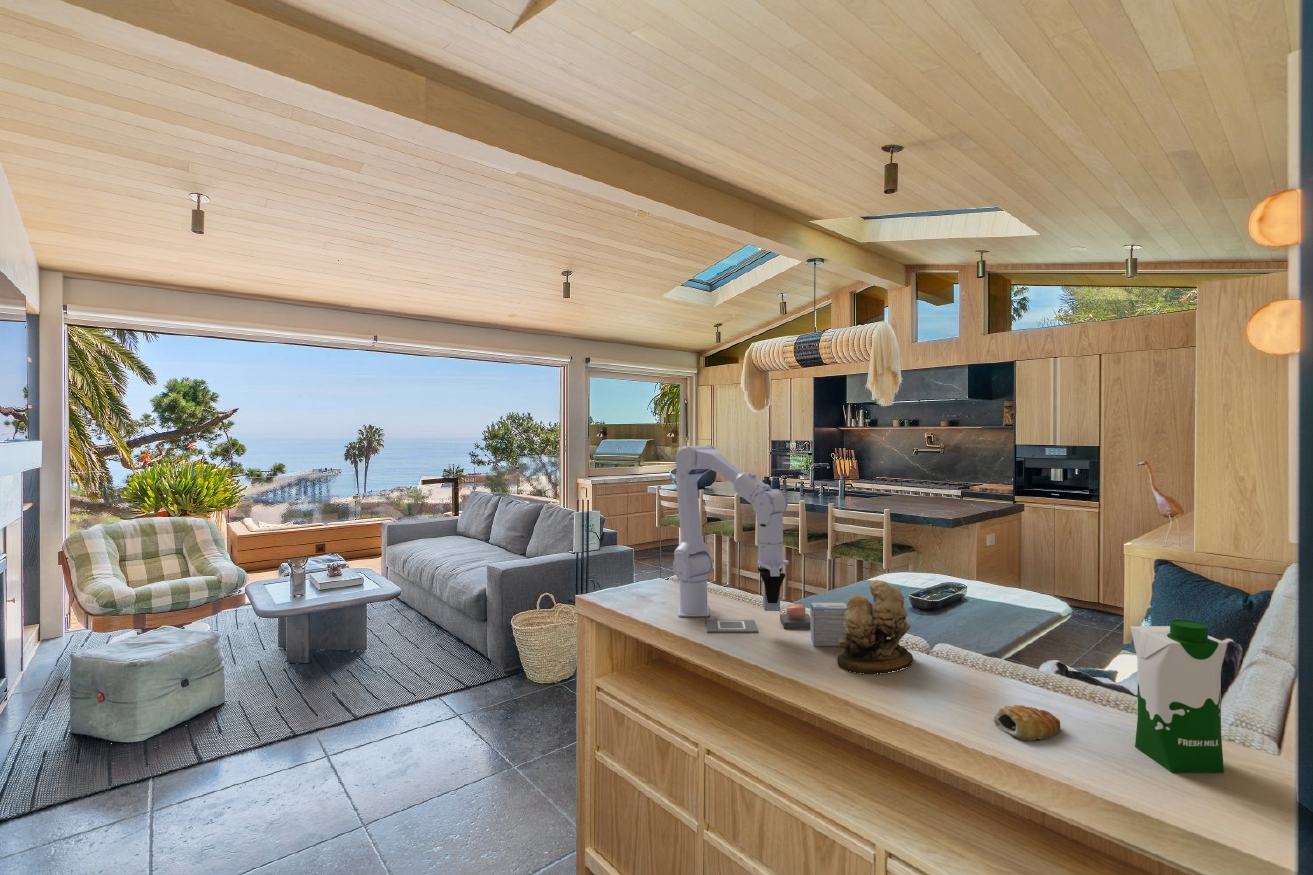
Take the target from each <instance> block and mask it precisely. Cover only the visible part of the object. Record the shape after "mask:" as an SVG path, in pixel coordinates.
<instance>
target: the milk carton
mask: <svg viewBox="0 0 1313 875" xmlns="http://www.w3.org/2000/svg"><path fill="white" fill-rule="evenodd" d="M1208 629H1209V627H1208V625H1207V624H1204V623H1202V622H1198V621H1193V620H1186V619H1173V620H1170V622H1169V625H1160V626H1159V625H1158V626H1157V625H1154V626H1152V625H1147V626H1146V625H1144V626H1141V625H1140V626H1138V625H1136V626H1135V625H1133V626H1131V625H1130V630H1131V636H1132V640H1133V644H1134V649H1135V654H1136V659H1137V660H1136V663H1137V664H1136V666H1137V667H1136V668H1137V670H1136V674H1137V676H1136V677H1137V722H1136V730H1135V731H1136V732H1135V743H1134V747H1135V748H1136V749H1137V750H1139V751H1140V752H1142V753H1143V754H1145V755H1146V756H1147V757H1149V758H1151V759H1152V760H1153V761H1155V762H1156V763H1157V764H1159V765H1160V766H1162V767H1164V768H1165V769H1166V770H1168V771H1169V772H1171V773H1195V774H1196V773H1199V774H1200V773H1203V774H1204V773H1207V774H1208V773H1210V774H1211V773H1212V774H1213V773H1214V774H1215V773H1219V774H1220V773H1225V770H1224V769H1225V768H1224V767H1225V765H1224V754H1223V741H1222V740H1223V739H1222V693H1221V690H1222V688H1221V687H1222V686H1221V684H1222V683H1221V682H1222V679H1221V676H1222V675H1221V674H1222V666H1223V663H1224V659H1225V655H1226V652H1227V648H1228V643H1227V642H1226V641H1223V640H1220V639H1218V638H1215V637H1213V636H1210V635H1209V633H1208V632H1209V630H1208Z"/></svg>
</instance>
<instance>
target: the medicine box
mask: <svg viewBox="0 0 1313 875" xmlns="http://www.w3.org/2000/svg"><path fill="white" fill-rule="evenodd" d="M846 608H847V604H846V603H845V602H810V605H809V609H810V612H809V613H810V614H809V616H810V620H811V629H810V641H811V643H812V645H813V647H840V646H839V645H838V641H839V638H844V637H846V635H845V634H844V632H843V624H844V614H845V612H846V611H847V609H846Z"/></svg>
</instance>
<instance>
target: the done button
mask: <svg viewBox="0 0 1313 875" xmlns="http://www.w3.org/2000/svg"><path fill="white" fill-rule="evenodd" d="M786 614H787V616H789V617H792V618H803V617H805V614H806V606H805V605H804V604H801V603H789V604H787V605H786Z"/></svg>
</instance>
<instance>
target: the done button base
mask: <svg viewBox="0 0 1313 875" xmlns="http://www.w3.org/2000/svg"><path fill="white" fill-rule="evenodd" d="M779 621H780V624H781V625H782V627H783V629H785V630H787V629H786V628H811V620H810V614H808V613H805V617H803V618H792V617H789V616H787V613H779Z"/></svg>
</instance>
